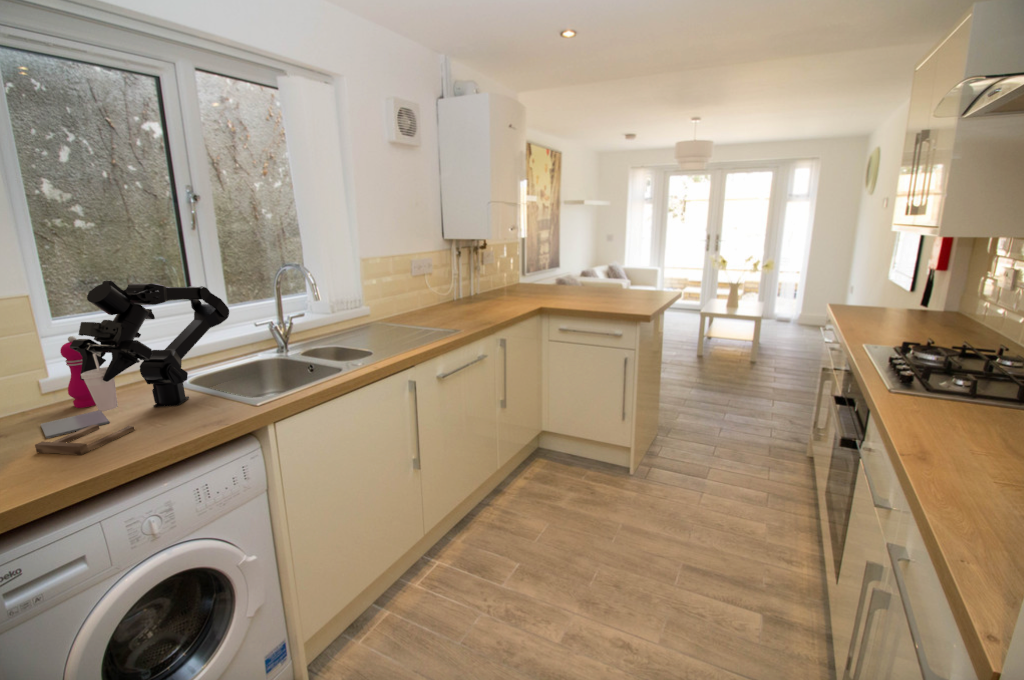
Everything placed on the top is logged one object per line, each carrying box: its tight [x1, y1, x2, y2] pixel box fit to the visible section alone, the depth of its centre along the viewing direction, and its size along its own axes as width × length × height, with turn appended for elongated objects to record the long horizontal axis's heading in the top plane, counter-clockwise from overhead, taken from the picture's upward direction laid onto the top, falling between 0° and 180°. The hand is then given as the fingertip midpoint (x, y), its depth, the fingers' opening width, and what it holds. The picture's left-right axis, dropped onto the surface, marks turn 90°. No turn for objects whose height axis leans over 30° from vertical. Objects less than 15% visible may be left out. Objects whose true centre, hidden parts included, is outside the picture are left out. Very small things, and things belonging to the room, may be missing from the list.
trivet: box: [40, 410, 110, 440], centre depth 125 cm, size 12×12×1 cm
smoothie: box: [81, 353, 119, 412], centre depth 119 cm, size 6×6×14 cm
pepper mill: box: [59, 335, 96, 409], centre depth 137 cm, size 7×7×20 cm
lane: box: [34, 425, 135, 456], centre depth 115 cm, size 13×12×2 cm
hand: (93, 380), depth 117 cm, fingers closed on smoothie, 6 cm apart
